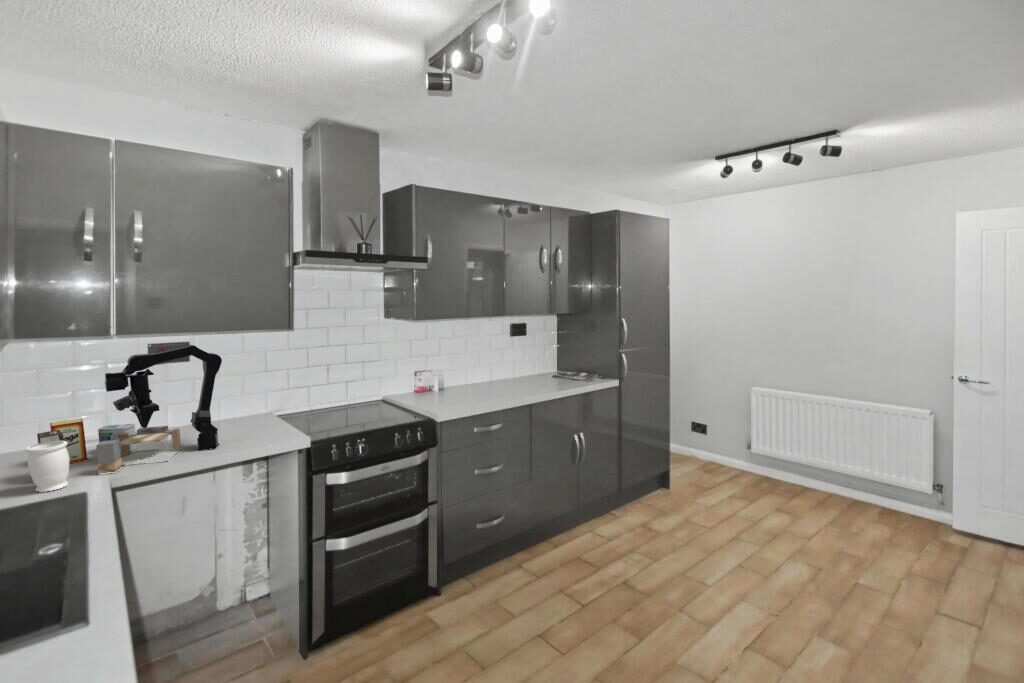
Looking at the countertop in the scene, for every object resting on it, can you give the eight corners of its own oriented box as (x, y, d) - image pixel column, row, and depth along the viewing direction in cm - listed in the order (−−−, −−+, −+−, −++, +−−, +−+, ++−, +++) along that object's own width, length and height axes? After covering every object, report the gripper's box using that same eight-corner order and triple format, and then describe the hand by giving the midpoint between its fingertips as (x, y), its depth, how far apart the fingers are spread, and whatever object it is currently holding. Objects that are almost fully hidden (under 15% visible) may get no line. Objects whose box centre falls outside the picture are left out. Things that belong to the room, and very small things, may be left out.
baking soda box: (86, 456, 209) (81, 417, 207) (87, 460, 204) (82, 420, 202) (54, 462, 202) (49, 422, 200) (55, 466, 197) (50, 425, 196)
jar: (73, 487, 175) (68, 444, 174) (32, 497, 168) (26, 452, 167) (70, 479, 183) (65, 438, 181) (31, 488, 176) (25, 445, 174)
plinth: (122, 468, 193) (121, 457, 193) (115, 473, 188) (114, 462, 188) (105, 470, 192) (104, 459, 192) (98, 475, 187) (97, 464, 186)
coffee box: (69, 477, 185) (63, 433, 183) (45, 483, 180) (39, 437, 179) (64, 471, 191) (59, 429, 189) (41, 476, 187) (35, 433, 185)
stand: (182, 449, 214) (180, 427, 213) (169, 461, 200) (166, 437, 199) (126, 455, 209) (123, 432, 208) (108, 467, 195) (105, 443, 194)
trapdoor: (174, 431, 214) (173, 425, 214) (160, 442, 200) (159, 434, 200) (134, 435, 211) (134, 428, 210) (118, 445, 197) (117, 438, 197)
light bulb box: (99, 454, 211) (96, 428, 209) (111, 449, 217) (109, 424, 216) (126, 453, 211) (124, 427, 210) (138, 448, 218) (135, 423, 216)
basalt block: (120, 458, 193) (118, 439, 192) (115, 462, 188) (112, 443, 187) (104, 459, 191) (102, 441, 191) (98, 464, 187) (96, 445, 186)
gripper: (106, 388, 199) (111, 428, 200) (122, 394, 187) (126, 436, 189) (141, 383, 207) (145, 422, 209) (157, 389, 196) (161, 429, 197)
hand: (144, 427), depth 201 cm, fingers closed
